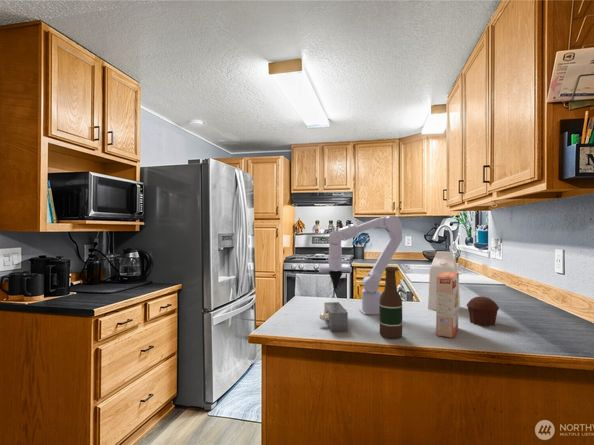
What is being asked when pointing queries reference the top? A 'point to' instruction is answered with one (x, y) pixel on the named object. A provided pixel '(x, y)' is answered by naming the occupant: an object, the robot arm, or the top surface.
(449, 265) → the milk
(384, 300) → the beer bottle
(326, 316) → the pin
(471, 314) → the muffin
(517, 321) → the top surface
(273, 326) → the top surface
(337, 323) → the block
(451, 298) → the cracker box
